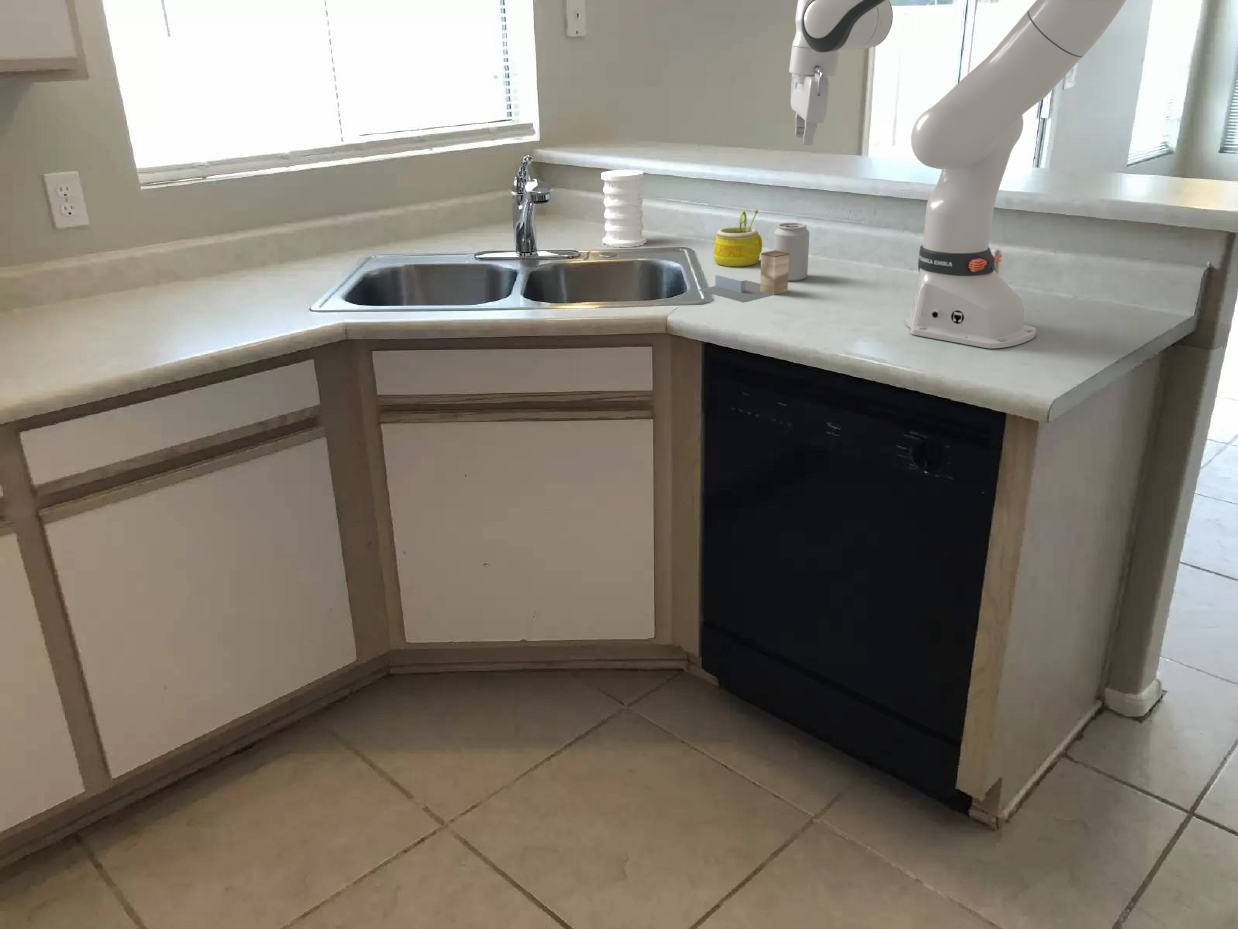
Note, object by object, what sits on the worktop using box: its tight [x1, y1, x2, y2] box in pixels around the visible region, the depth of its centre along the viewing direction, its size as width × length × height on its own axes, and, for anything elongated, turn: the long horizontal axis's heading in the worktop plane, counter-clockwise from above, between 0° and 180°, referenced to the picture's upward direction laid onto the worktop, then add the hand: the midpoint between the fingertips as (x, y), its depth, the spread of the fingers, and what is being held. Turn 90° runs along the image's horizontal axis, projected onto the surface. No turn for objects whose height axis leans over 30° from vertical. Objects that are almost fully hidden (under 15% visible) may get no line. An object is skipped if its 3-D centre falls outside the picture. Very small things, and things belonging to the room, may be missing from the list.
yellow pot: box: [713, 209, 763, 268], centre depth 220 cm, size 13×11×12 cm
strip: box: [714, 273, 746, 293], centre depth 199 cm, size 8×1×2 cm, turn 37°
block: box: [759, 249, 789, 296], centre depth 195 cm, size 4×4×8 cm
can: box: [773, 222, 810, 282], centre depth 204 cm, size 8×8×12 cm
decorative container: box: [600, 169, 647, 246], centre depth 245 cm, size 12×12×18 cm
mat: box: [698, 279, 789, 304], centre depth 198 cm, size 14×13×1 cm
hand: (803, 140), depth 183 cm, fingers open, 8 cm apart
